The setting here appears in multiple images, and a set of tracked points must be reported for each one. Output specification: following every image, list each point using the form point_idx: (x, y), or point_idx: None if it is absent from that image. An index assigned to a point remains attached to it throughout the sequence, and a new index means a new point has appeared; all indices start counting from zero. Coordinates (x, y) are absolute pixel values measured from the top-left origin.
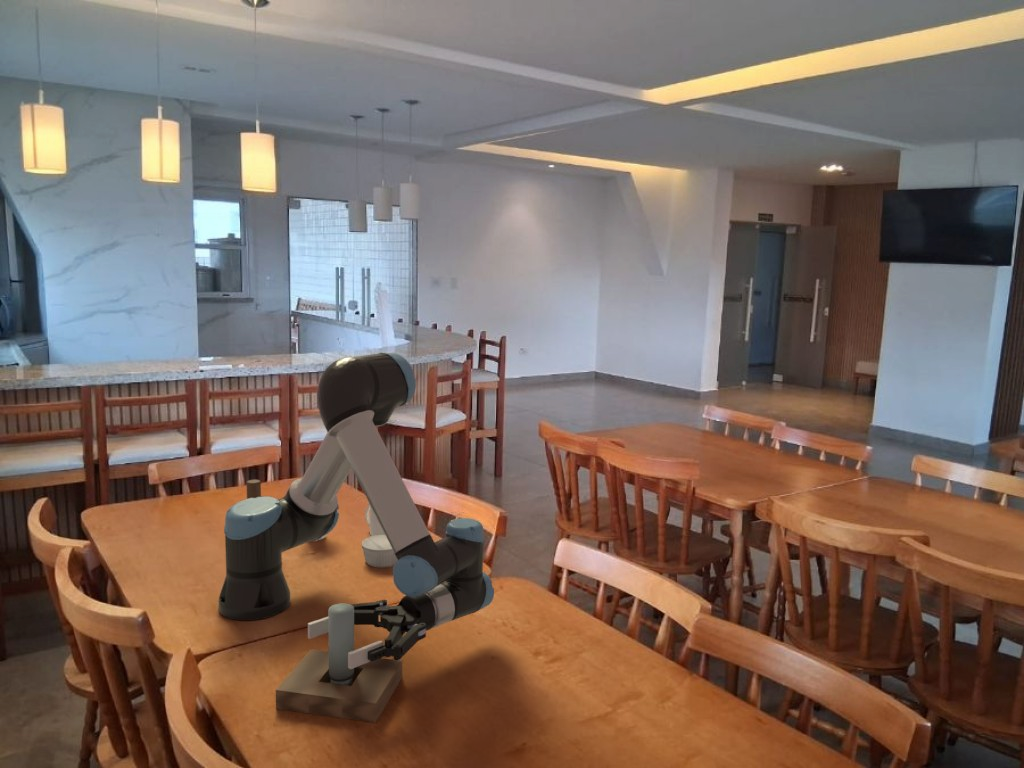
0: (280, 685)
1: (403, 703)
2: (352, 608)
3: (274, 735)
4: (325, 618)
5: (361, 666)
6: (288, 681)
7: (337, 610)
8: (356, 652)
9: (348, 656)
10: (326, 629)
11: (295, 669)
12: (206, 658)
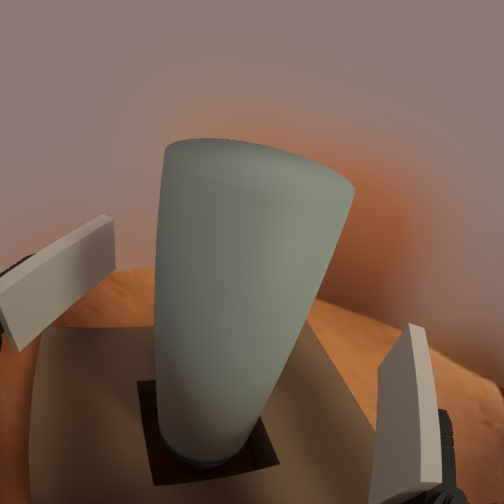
0: (310, 330)
1: (13, 437)
2: (184, 160)
3: None
4: (426, 392)
5: (168, 493)
6: (310, 346)
7: (266, 155)
8: (84, 225)
9: (112, 229)
10: (385, 424)
11: (344, 390)
12: (495, 386)
